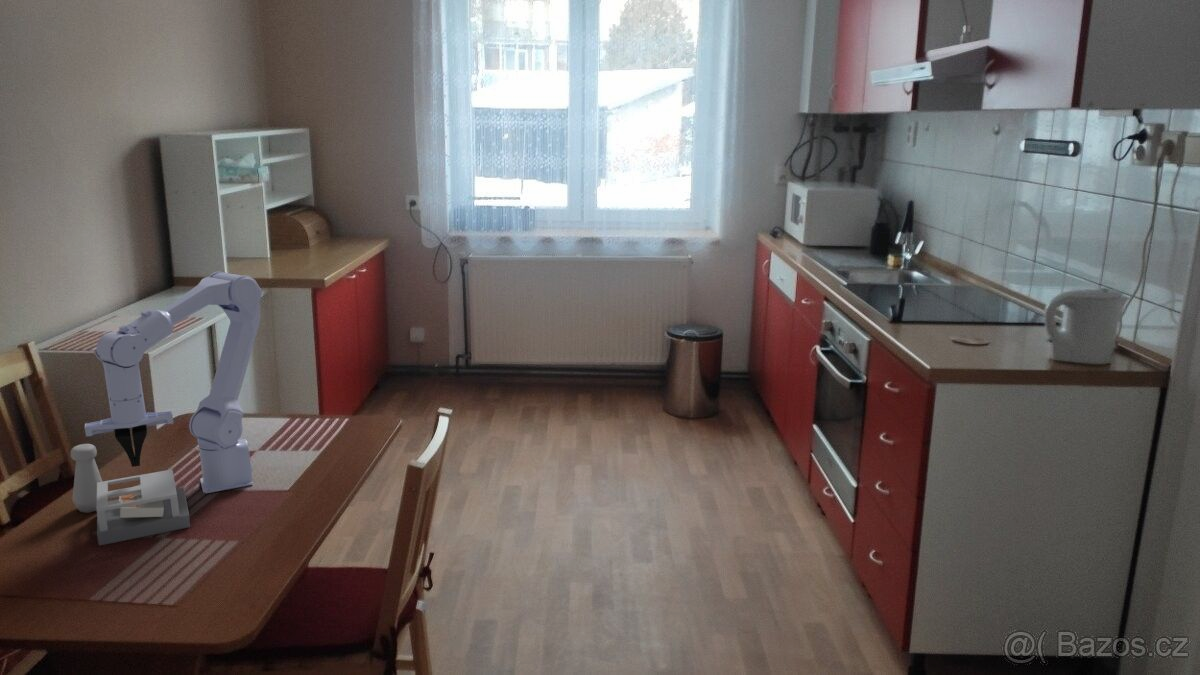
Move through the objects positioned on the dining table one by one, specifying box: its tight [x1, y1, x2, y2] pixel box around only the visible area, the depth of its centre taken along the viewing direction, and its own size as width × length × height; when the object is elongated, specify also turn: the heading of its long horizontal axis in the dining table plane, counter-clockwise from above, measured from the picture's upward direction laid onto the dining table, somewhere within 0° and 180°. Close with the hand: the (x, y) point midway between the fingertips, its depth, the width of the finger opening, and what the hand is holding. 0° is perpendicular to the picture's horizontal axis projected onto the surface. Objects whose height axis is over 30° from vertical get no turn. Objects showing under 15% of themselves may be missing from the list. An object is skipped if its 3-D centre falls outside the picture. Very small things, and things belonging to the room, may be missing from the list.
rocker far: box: [118, 483, 142, 502], centre depth 169 cm, size 7×5×2 cm
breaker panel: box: [96, 469, 191, 546], centre depth 166 cm, size 15×14×7 cm
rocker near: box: [120, 498, 164, 518], centre depth 163 cm, size 7×5×2 cm
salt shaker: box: [70, 443, 104, 513], centre depth 171 cm, size 6×6×13 cm
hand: (135, 464), depth 167 cm, fingers closed
